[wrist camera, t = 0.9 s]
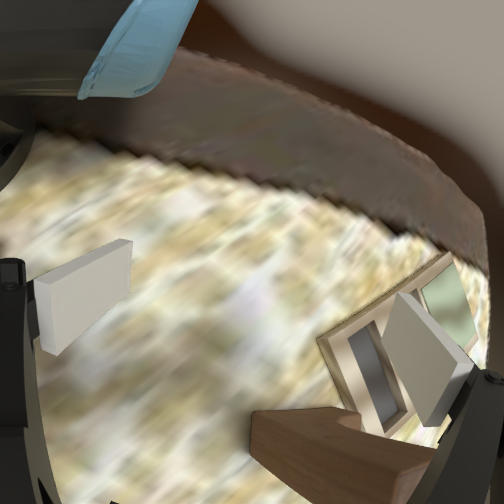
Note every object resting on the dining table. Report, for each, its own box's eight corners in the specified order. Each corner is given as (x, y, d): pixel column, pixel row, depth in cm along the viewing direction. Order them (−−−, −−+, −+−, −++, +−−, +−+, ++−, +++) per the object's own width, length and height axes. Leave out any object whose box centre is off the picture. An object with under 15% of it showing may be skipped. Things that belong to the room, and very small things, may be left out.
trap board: (316, 339, 30) (329, 338, 28) (439, 254, 40) (451, 250, 38) (362, 447, 29) (375, 452, 27) (468, 340, 39) (480, 338, 37)
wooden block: (335, 406, 29) (494, 430, 13) (331, 446, 28) (481, 492, 12) (250, 410, 26) (400, 474, 10) (247, 455, 25) (382, 550, 9)
